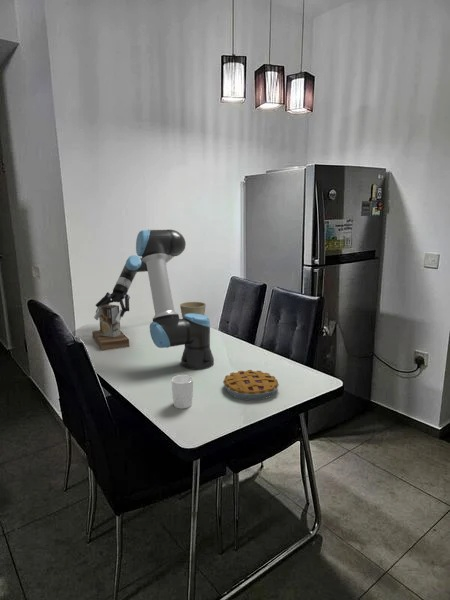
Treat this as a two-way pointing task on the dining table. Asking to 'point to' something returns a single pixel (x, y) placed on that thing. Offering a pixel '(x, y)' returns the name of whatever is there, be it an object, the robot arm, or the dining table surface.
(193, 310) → the plant pot
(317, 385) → the dining table surface
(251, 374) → the pie
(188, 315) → the robot arm
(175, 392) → the white cup
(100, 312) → the coffee box
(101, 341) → the walnut stand
